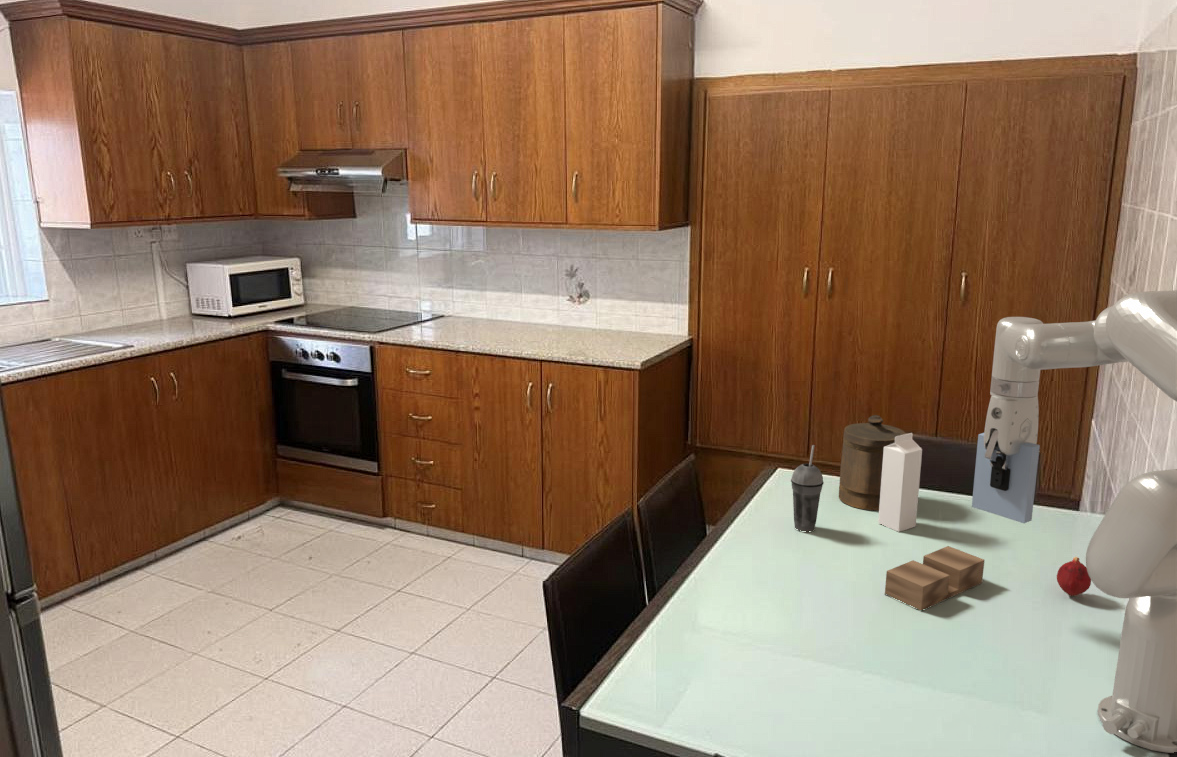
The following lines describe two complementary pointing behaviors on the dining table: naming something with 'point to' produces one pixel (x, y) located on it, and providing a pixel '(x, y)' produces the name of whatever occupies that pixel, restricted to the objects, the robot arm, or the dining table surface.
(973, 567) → the slotted base
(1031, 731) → the dining table surface
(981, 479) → the grey block
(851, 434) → the wooden container
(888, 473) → the milk
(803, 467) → the beverage cup
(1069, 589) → the red pomegranate
